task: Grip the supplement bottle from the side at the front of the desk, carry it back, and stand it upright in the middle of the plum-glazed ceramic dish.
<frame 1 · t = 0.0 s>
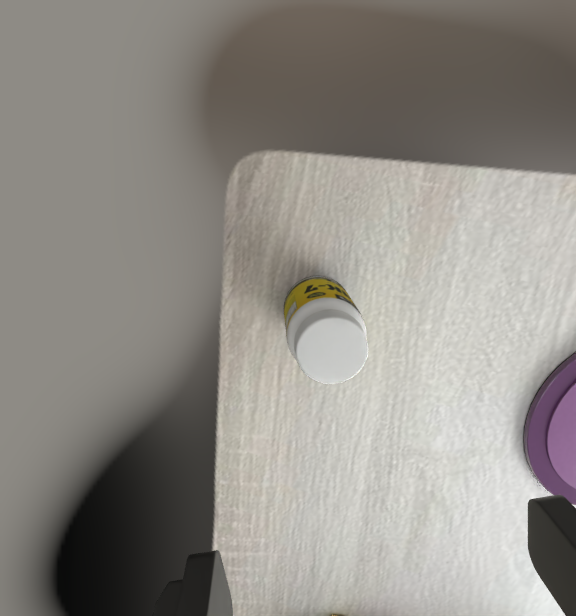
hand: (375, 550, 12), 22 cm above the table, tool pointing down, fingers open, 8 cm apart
supplement bottle: (316, 305, 33), on the table
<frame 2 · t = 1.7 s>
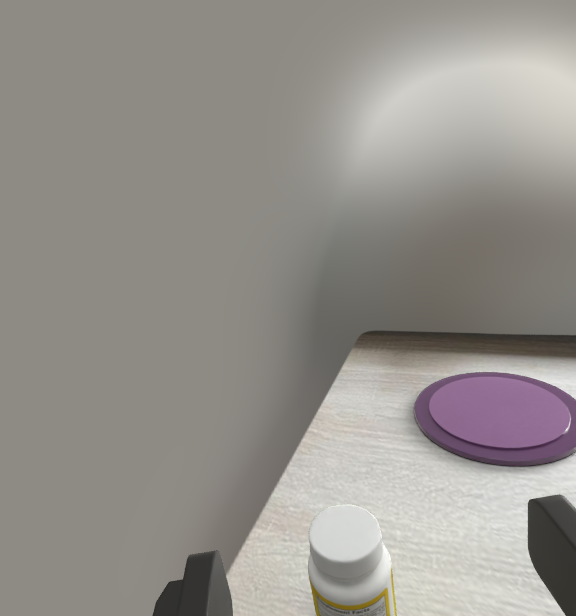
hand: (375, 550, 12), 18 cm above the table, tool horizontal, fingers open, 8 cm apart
plum dish: (495, 414, 46), on the table
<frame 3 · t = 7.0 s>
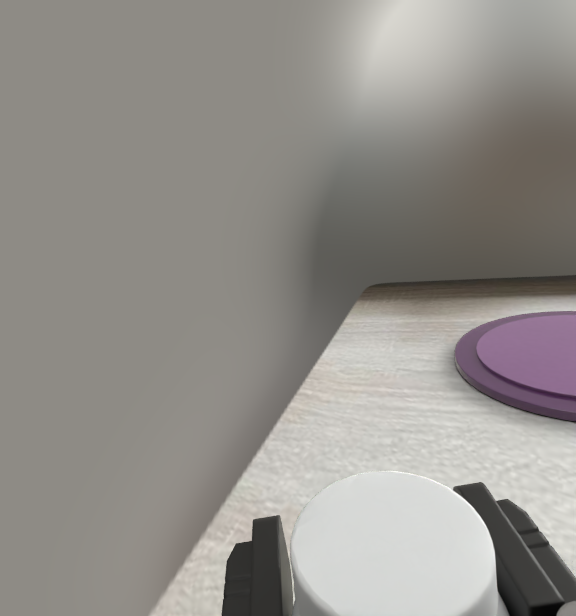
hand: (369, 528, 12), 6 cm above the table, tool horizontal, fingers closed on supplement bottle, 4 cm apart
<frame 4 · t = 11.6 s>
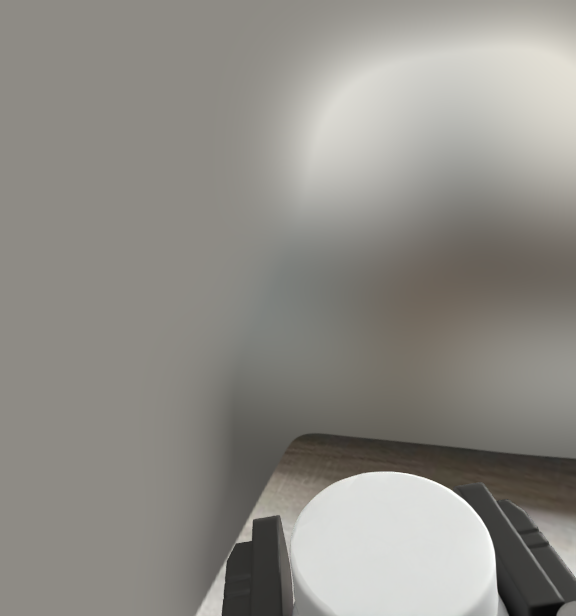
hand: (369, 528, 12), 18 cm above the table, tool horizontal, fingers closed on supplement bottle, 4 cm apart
when the fingers open (7 cm above the table, at t = 16.3 s): supplement bottle stays where it is, resting on plum dish.
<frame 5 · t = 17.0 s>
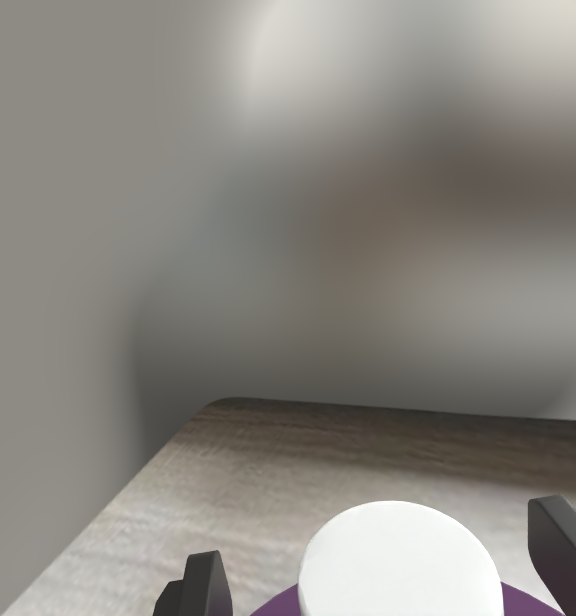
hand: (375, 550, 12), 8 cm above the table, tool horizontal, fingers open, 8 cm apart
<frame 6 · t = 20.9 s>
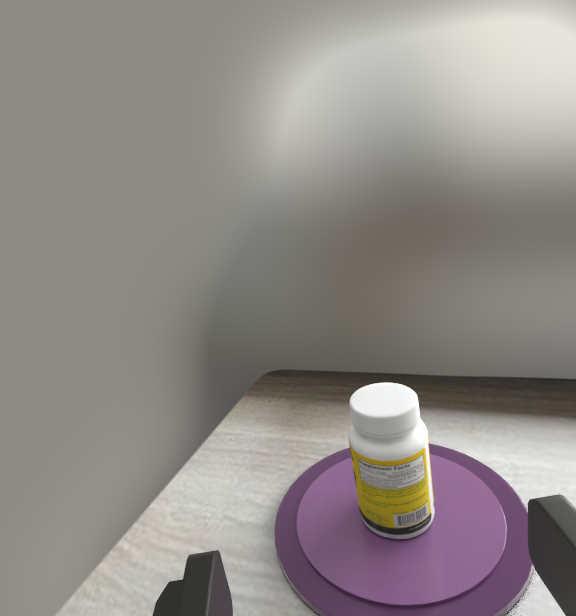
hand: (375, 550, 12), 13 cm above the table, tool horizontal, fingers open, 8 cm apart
plum dish: (396, 521, 30), on the table
supplement bottle: (396, 515, 29), point 1 cm above the table, touching plum dish
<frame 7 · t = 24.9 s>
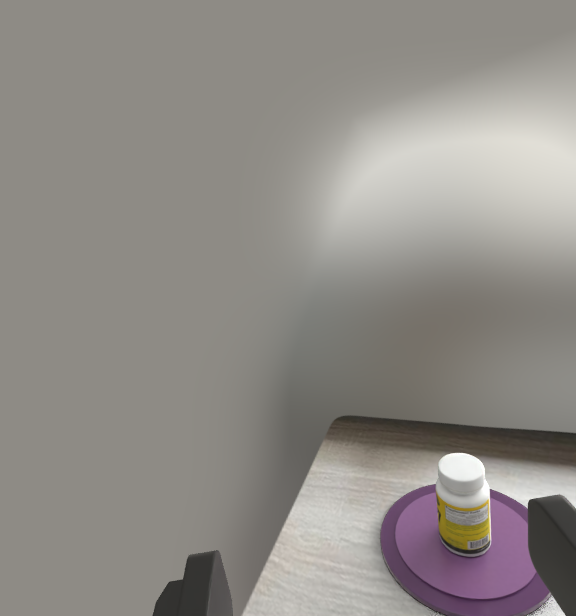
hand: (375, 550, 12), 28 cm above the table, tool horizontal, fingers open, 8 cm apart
plum dish: (463, 543, 44), on the table
supplement bottle: (464, 540, 44), point 1 cm above the table, touching plum dish
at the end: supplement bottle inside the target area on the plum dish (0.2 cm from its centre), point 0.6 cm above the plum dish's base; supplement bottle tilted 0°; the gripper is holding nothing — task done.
